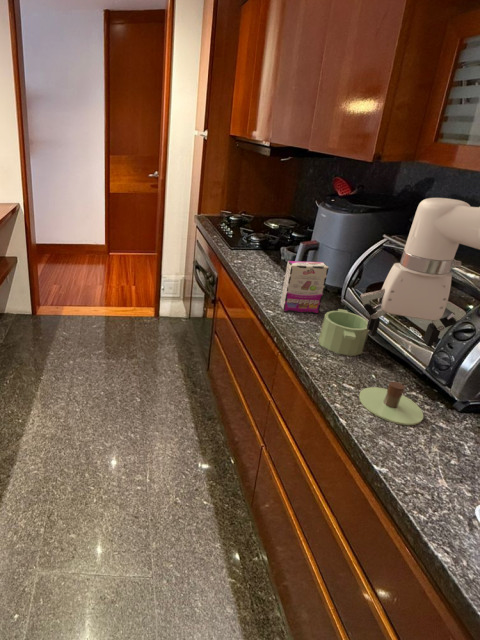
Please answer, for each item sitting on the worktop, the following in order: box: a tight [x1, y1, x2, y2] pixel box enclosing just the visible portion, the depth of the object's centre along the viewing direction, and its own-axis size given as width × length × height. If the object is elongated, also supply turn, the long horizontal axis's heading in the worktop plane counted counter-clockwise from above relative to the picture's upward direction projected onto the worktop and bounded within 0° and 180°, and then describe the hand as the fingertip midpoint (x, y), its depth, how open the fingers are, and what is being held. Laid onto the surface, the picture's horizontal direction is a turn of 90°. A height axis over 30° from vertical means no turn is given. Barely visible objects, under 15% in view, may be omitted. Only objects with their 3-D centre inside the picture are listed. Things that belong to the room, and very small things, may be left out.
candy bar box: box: [279, 260, 329, 314], centre depth 127 cm, size 11×5×16 cm, turn 81°
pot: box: [318, 308, 370, 356], centre depth 107 cm, size 11×16×8 cm, turn 156°
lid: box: [358, 381, 424, 426], centre depth 85 cm, size 12×12×6 cm
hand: (398, 338), depth 82 cm, fingers open, 9 cm apart
